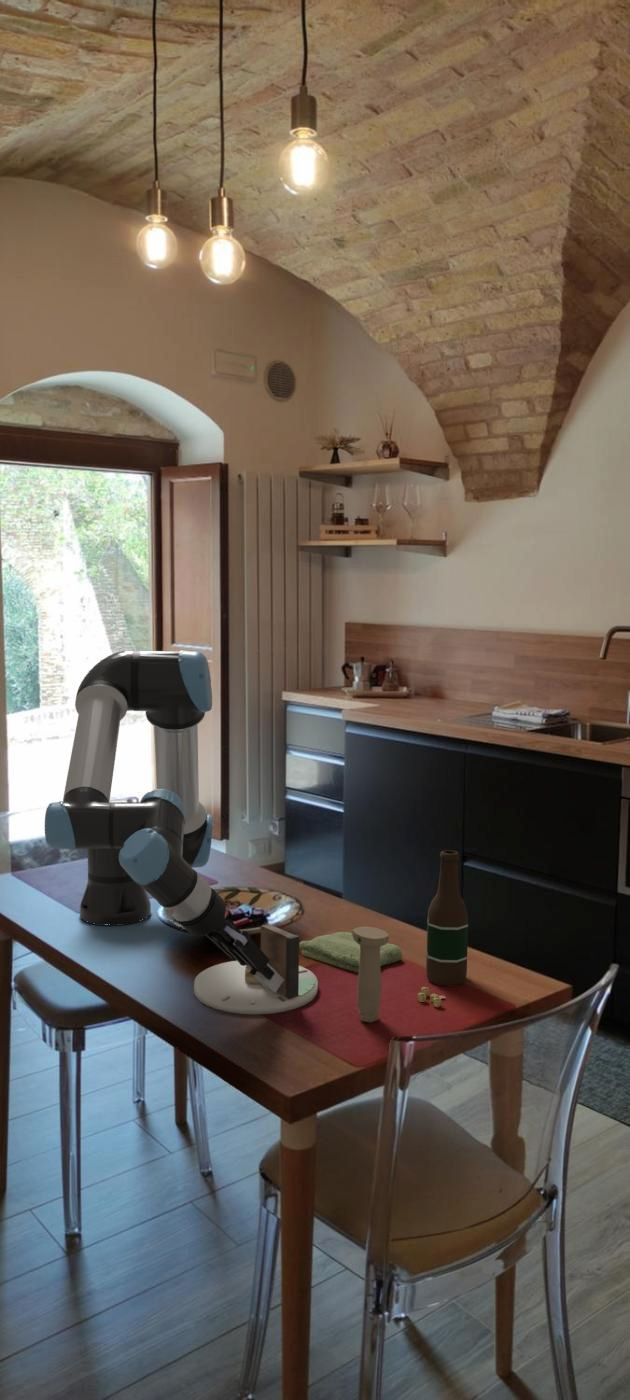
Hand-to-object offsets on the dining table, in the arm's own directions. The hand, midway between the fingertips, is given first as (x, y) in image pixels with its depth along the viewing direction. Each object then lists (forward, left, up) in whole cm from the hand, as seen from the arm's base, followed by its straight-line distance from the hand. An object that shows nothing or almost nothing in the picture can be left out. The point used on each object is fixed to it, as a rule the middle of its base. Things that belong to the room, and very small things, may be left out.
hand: (275, 984), depth 180 cm
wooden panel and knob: (-4, -2, -2) cm, 5 cm away
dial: (-6, -6, -4) cm, 9 cm away
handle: (+1, +16, -4) cm, 17 cm away
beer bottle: (-21, +26, -4) cm, 34 cm away
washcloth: (-28, +7, -5) cm, 29 cm away
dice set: (-10, +25, -5) cm, 28 cm away
